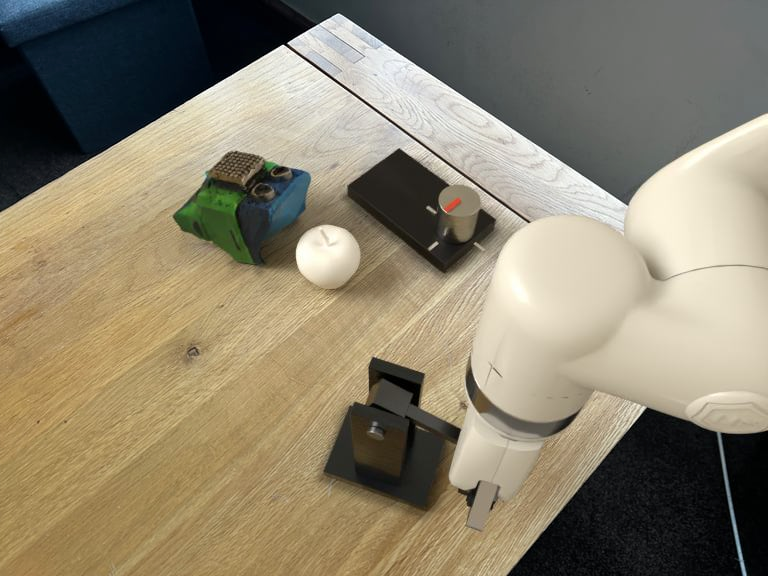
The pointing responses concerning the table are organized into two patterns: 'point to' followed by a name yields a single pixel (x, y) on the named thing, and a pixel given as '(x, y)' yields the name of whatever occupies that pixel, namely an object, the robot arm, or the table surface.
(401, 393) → the lever
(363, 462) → the lever bracket
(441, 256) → the dial panel
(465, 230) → the knob
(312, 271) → the plain white apple
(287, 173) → the sculpture
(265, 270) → the table surface
